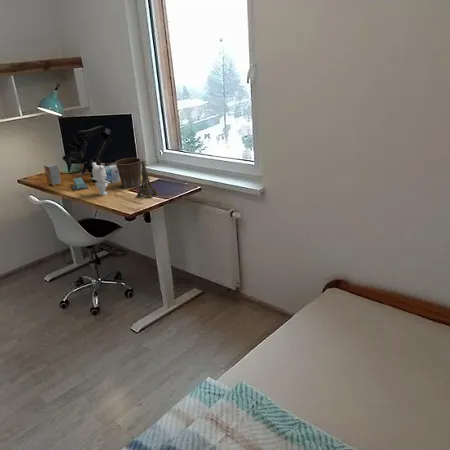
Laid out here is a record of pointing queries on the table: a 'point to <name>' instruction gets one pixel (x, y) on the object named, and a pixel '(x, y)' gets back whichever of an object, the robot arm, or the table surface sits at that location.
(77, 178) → the swing arm
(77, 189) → the label panel
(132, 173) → the plant pot
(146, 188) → the eiffel tower
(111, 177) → the light bulb box
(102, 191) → the white bear figurine
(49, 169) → the small box
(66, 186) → the table surface
